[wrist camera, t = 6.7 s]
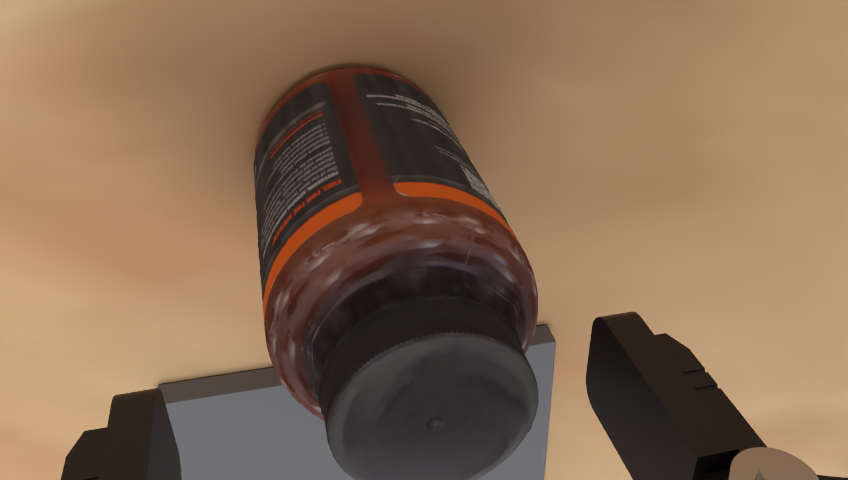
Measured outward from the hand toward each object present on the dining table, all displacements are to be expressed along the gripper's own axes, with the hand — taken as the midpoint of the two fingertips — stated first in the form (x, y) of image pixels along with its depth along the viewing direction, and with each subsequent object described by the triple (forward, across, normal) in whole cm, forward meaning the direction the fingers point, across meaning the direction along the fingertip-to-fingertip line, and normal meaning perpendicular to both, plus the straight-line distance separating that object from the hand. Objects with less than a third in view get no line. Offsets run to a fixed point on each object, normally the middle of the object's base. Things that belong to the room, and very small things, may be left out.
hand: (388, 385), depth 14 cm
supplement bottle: (+11, -1, 0) cm, 11 cm away
